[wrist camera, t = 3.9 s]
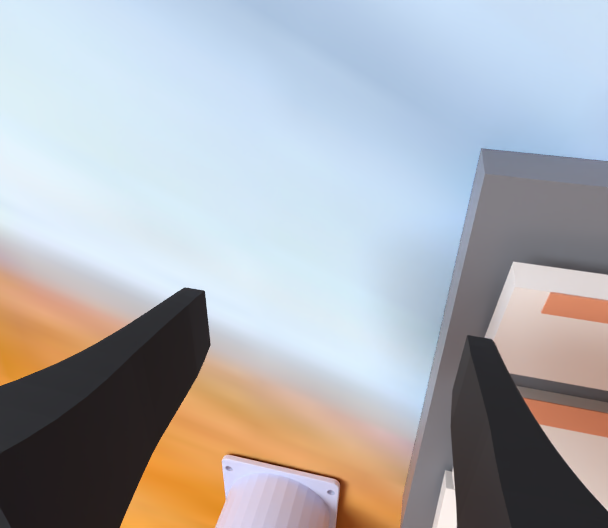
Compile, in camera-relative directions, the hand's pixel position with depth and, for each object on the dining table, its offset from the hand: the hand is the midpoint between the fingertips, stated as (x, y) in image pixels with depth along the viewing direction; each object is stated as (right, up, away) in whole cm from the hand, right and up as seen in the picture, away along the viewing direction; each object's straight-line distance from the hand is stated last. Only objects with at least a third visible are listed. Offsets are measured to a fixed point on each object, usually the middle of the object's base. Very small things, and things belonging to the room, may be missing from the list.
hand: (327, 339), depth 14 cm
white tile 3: (+11, -1, +4) cm, 12 cm away
